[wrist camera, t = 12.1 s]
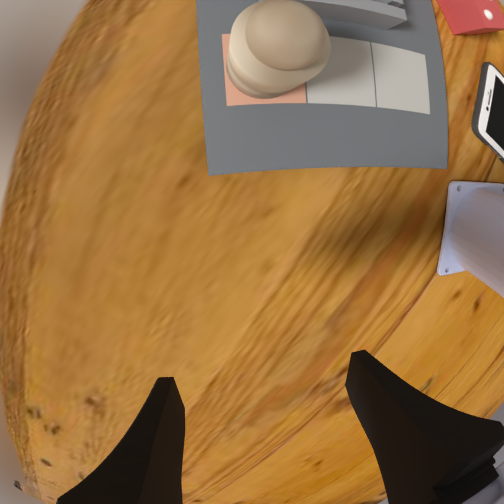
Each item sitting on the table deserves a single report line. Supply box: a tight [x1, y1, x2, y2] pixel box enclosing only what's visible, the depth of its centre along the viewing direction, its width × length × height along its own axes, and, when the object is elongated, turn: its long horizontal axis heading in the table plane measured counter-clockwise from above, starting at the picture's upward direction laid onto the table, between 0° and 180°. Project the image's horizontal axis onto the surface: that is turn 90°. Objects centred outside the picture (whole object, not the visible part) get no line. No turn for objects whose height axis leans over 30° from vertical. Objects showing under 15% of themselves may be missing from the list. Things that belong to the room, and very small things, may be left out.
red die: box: [437, 0, 504, 35], centre depth 11 cm, size 4×4×4 cm
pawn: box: [226, 0, 331, 99], centre depth 11 cm, size 4×4×7 cm
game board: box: [196, 0, 448, 176], centre depth 12 cm, size 16×18×4 cm
